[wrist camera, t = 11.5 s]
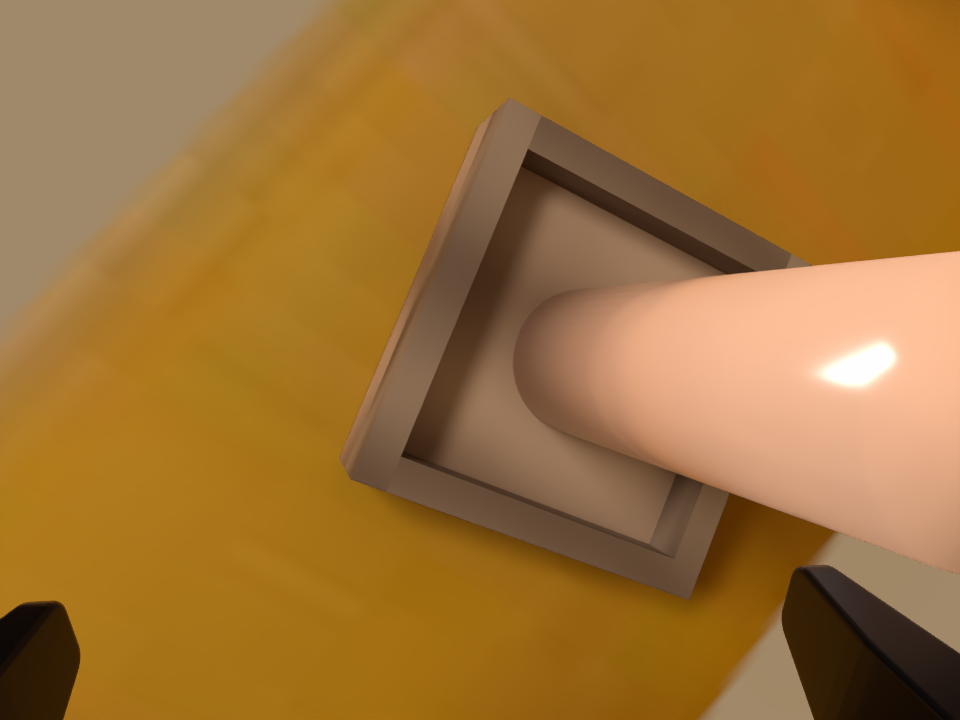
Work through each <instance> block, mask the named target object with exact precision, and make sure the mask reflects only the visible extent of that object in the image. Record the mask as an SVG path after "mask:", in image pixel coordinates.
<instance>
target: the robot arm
mask: <svg viewBox="0 0 960 720" xmlns="http://www.w3.org/2000/svg"><path fill="white" fill-rule="evenodd" d="M782 626H783V631H784V634H785V637H786V639H787V643H788V646H789V649H790V651H791V654H792V657H793V660H794V663H795V666H796V669H797V671H798V675H799V677H800V680H801V683H802V686H803V689H804V692H805V694H806V698H807V700H808V703H809V706H810V709H811V712H812V715H813V718H814V720H960V653H958V652H957V651H955V650H954V649H953V648H951V647H950V646H948V645H947V644H945V643H944V642H942V641H940V640H939V639H938V638H936V637H935V636H933V635H932V634H931V633H929V632H928V631H926V630H925V629H923V628H922V627H920V626H919V625H917V624H916V623H914V622H913V621H911V620H910V619H908V618H907V617H906V616H904V615H903V614H901V613H900V612H898V611H897V610H895V609H894V608H892V607H891V606H889V605H888V604H886V603H885V602H883V601H882V600H881V599H879V598H878V597H876V596H875V595H873V594H872V593H870V592H868V591H867V590H866V589H864V588H863V587H861V586H860V585H859V584H857V583H855V582H854V581H853V580H851V579H850V578H848V577H847V576H845V575H844V574H842V573H841V572H839V571H838V570H837V569H835V568H833V567H831V566H828V565H810V566H800V567H797V568H796V569H795V570H794V571H793V574H792V577H791V580H790V584H789V588H788V591H787V595H786V599H785V603H784V606H783V610H782ZM79 664H80V648H79V645H78V642H77V639H76V636H75V634H74V631H73V628H72V625H71V622H70V620H69V617H68V614H67V611H66V609H65V607H64V605H62V604H61V603H60V602H58V601H37V602H26V603H23V604H21V605H19V606H17V607H16V608H14V609H13V610H12V611H10V612H9V613H8V614H6V615H5V616H4V617H2V618H1V619H0V720H63V719H64V715H65V712H66V709H67V706H68V702H69V699H70V696H71V692H72V689H73V686H74V683H75V679H76V676H77V673H78V669H79Z"/></svg>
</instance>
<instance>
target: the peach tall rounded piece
mask: <svg viewBox="0 0 960 720" xmlns="http://www.w3.org/2000/svg"><path fill="white" fill-rule="evenodd" d="M513 372H514V378H515V383H516V386H517V389H518V392H519V394H520V396H521V398H522V400H523V402H524V403H525V405H526V406H527V408H528V409H529V410H530V411H531V413H532V414H533V415H534V416H535V417H537V418H538V419H539V420H540V421H541V422H543V423H544V424H546V425H547V426H549V427H552V428H554V429H556V430H559V431H561V432H564V433H567V434H570V435H572V436H575V437H578V438H581V439H583V440H586V441H589V442H592V443H594V444H597V445H600V446H603V447H605V448H608V449H611V450H614V451H616V452H619V453H622V454H625V455H627V456H630V457H633V458H636V459H639V460H641V461H644V462H647V463H650V464H652V465H655V466H658V467H661V468H663V469H666V470H669V471H672V472H674V473H677V474H680V475H683V476H685V477H688V478H691V479H694V480H696V481H699V482H702V483H705V484H707V485H710V486H713V487H716V488H718V489H721V490H724V491H727V492H729V493H732V494H735V495H738V496H740V497H743V498H746V499H749V500H751V501H754V502H757V503H760V504H762V505H765V506H768V507H771V508H773V509H776V510H779V511H782V512H784V513H787V514H790V515H793V516H795V517H798V518H801V519H804V520H806V521H809V522H812V523H815V524H817V525H820V526H823V527H826V528H828V529H831V530H834V531H837V532H839V533H842V534H845V535H848V536H851V537H853V538H856V539H859V540H861V541H864V542H867V543H870V544H873V545H875V546H878V547H881V548H883V549H886V550H889V551H892V552H894V553H897V554H900V555H903V556H906V557H908V558H911V559H914V560H917V561H920V562H922V563H925V564H928V565H930V566H933V567H936V568H939V569H942V570H945V571H948V572H951V573H956V574H960V251H958V252H948V253H938V254H928V255H918V256H908V257H898V258H888V259H878V260H868V261H858V262H848V263H838V264H828V265H818V266H808V267H798V268H788V269H778V270H768V271H758V272H748V273H738V274H729V275H719V276H709V277H699V278H689V279H679V280H669V281H659V282H649V283H639V284H629V285H619V286H609V287H599V288H589V289H579V290H571V291H566V292H563V293H560V294H557V295H555V296H553V297H551V298H549V299H547V300H546V301H544V302H543V303H541V304H540V305H539V306H538V307H537V308H536V309H535V310H534V311H533V312H532V313H531V314H530V316H529V317H528V318H527V320H526V321H525V323H524V324H523V326H522V328H521V330H520V332H519V335H518V338H517V341H516V344H515V349H514V356H513Z"/></svg>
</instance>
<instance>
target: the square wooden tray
mask: <svg viewBox="0 0 960 720" xmlns="http://www.w3.org/2000/svg"><path fill="white" fill-rule="evenodd" d="M808 266H812V265H810V264H809V263H807V262H805V261H803V260H801V259H800V258H798V257H796V256H794V255H792V254H791V253H789V252H787V251H785V250H783V249H782V248H780V247H778V246H776V245H774V244H773V243H771V242H769V241H767V240H765V239H764V238H762V237H760V236H758V235H756V234H754V233H753V232H751V231H749V230H747V229H745V228H744V227H742V226H740V225H738V224H736V223H735V222H733V221H731V220H729V219H727V218H726V217H724V216H722V215H720V214H718V213H717V212H715V211H713V210H711V209H709V208H708V207H706V206H704V205H702V204H700V203H699V202H697V201H695V200H693V199H691V198H690V197H688V196H686V195H684V194H682V193H680V192H679V191H677V190H675V189H673V188H671V187H670V186H668V185H666V184H664V183H662V182H661V181H659V180H657V179H655V178H653V177H652V176H650V175H648V174H646V173H644V172H643V171H641V170H639V169H637V168H635V167H634V166H632V165H630V164H628V163H626V162H625V161H623V160H621V159H619V158H617V157H615V156H614V155H612V154H610V153H608V152H606V151H605V150H603V149H601V148H599V147H597V146H596V145H594V144H592V143H590V142H588V141H587V140H585V139H583V138H581V137H579V136H578V135H576V134H574V133H572V132H570V131H569V130H567V129H565V128H563V127H561V126H560V125H558V124H556V123H554V122H552V121H551V120H549V119H547V118H545V117H543V116H541V115H540V114H538V113H536V112H534V111H532V110H531V109H529V108H527V107H525V106H523V105H522V104H520V103H518V102H516V101H514V100H513V99H511V98H509V99H508V100H507V101H506V102H505V103H504V104H502V105H501V106H500V107H499V108H498V109H497V110H496V111H495V112H494V113H493V114H491V115H490V116H489V117H488V118H487V119H486V120H485V121H484V122H483V123H482V124H480V125H479V126H478V128H477V131H476V133H475V136H474V138H473V140H472V143H471V145H470V147H469V150H468V152H467V155H466V157H465V159H464V162H463V164H462V167H461V169H460V171H459V174H458V176H457V179H456V181H455V183H454V186H453V188H452V190H451V193H450V195H449V198H448V200H447V202H446V205H445V207H444V210H443V212H442V214H441V217H440V219H439V222H438V224H437V226H436V229H435V231H434V233H433V236H432V238H431V241H430V243H429V245H428V248H427V250H426V253H425V255H424V257H423V260H422V262H421V265H420V267H419V269H418V272H417V274H416V277H415V279H414V281H413V284H412V286H411V288H410V291H409V293H408V296H407V298H406V300H405V303H404V305H403V308H402V310H401V312H400V315H399V317H398V320H397V322H396V324H395V327H394V329H393V331H392V334H391V336H390V339H389V341H388V343H387V346H386V348H385V351H384V353H383V355H382V358H381V360H380V363H379V365H378V367H377V370H376V372H375V375H374V377H373V379H372V382H371V384H370V386H369V389H368V391H367V394H366V396H365V398H364V401H363V403H362V406H361V408H360V410H359V413H358V415H357V418H356V420H355V422H354V425H353V427H352V429H351V432H350V434H349V437H348V439H347V441H346V444H345V446H344V449H343V451H342V453H341V456H340V460H341V462H342V464H343V466H344V468H345V469H346V471H347V473H348V475H349V477H350V479H351V480H354V481H357V482H360V483H363V484H365V485H368V486H371V487H374V488H377V489H379V490H382V491H385V492H388V493H391V494H393V495H396V496H399V497H402V498H405V499H407V500H410V501H413V502H416V503H419V504H421V505H424V506H427V507H430V508H432V509H435V510H438V511H441V512H444V513H446V514H449V515H452V516H455V517H458V518H460V519H463V520H466V521H469V522H472V523H474V524H477V525H480V526H483V527H486V528H488V529H491V530H494V531H497V532H500V533H502V534H505V535H508V536H511V537H514V538H516V539H519V540H522V541H525V542H528V543H530V544H533V545H536V546H539V547H542V548H544V549H547V550H550V551H553V552H556V553H558V554H561V555H564V556H567V557H570V558H572V559H575V560H578V561H581V562H584V563H586V564H589V565H592V566H595V567H598V568H600V569H603V570H606V571H609V572H612V573H614V574H617V575H620V576H623V577H626V578H628V579H631V580H634V581H637V582H640V583H642V584H645V585H648V586H651V587H654V588H656V589H659V590H662V591H665V592H668V593H670V594H673V595H676V596H679V597H682V598H684V599H687V600H689V599H690V597H691V594H692V591H693V589H694V586H695V583H696V581H697V578H698V576H699V573H700V570H701V568H702V565H703V562H704V560H705V557H706V555H707V552H708V549H709V547H710V544H711V541H712V539H713V536H714V534H715V531H716V528H717V526H718V523H719V521H720V518H721V515H722V513H723V510H724V507H725V505H726V502H727V500H728V497H729V494H730V493H729V492H727V491H724V490H721V489H718V488H716V487H713V486H710V485H707V484H705V483H702V482H699V481H696V480H694V479H691V478H688V477H685V476H683V475H680V474H677V473H674V472H672V471H669V470H666V469H663V468H661V467H658V466H655V465H652V464H650V463H647V462H644V461H641V460H639V459H636V458H633V457H630V456H627V455H625V454H622V453H619V452H616V451H614V450H611V449H608V448H605V447H603V446H600V445H597V444H594V443H592V442H589V441H586V440H583V439H581V438H578V437H575V436H572V435H570V434H567V433H564V432H561V431H559V430H556V429H554V428H552V427H549V426H547V425H546V424H544V423H543V422H541V421H540V420H539V419H538V418H537V417H535V416H534V415H533V414H532V413H531V411H530V410H529V409H528V408H527V406H526V405H525V403H524V402H523V400H522V398H521V396H520V394H519V392H518V389H517V386H516V383H515V378H514V372H513V356H514V349H515V344H516V341H517V338H518V335H519V332H520V330H521V328H522V326H523V324H524V323H525V321H526V320H527V318H528V317H529V316H530V314H531V313H532V312H533V311H534V310H535V309H536V308H537V307H538V306H539V305H540V304H541V303H543V302H544V301H546V300H547V299H549V298H551V297H553V296H555V295H557V294H560V293H563V292H566V291H571V290H579V289H589V288H599V287H609V286H619V285H629V284H639V283H649V282H659V281H669V280H679V279H689V278H699V277H709V276H719V275H729V274H738V273H748V272H758V271H768V270H778V269H788V268H798V267H808Z"/></svg>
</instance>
